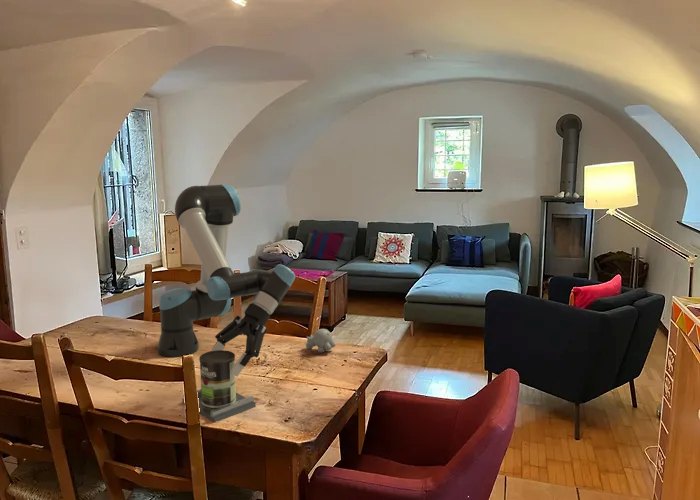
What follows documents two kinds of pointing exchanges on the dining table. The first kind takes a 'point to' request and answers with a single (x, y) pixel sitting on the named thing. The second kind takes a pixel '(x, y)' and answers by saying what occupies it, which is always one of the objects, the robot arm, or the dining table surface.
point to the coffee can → (217, 378)
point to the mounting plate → (225, 407)
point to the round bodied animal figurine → (320, 340)
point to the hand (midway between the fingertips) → (220, 367)
